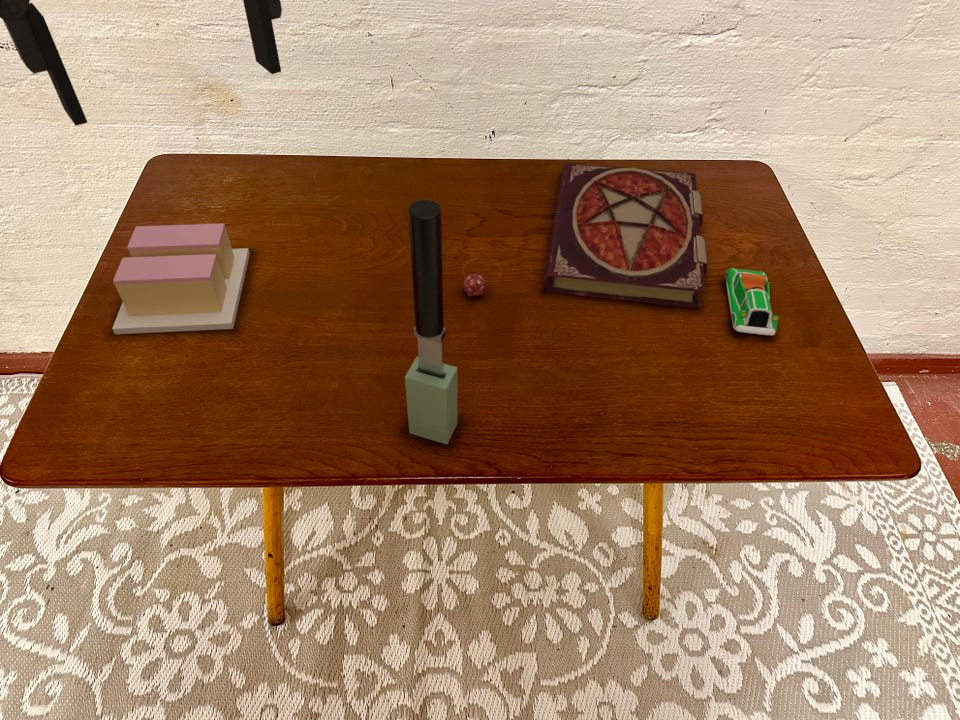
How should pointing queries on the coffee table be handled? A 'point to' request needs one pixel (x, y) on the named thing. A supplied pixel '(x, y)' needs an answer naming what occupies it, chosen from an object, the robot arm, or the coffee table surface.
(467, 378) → the coffee table surface
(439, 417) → the knife stand
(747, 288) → the toy car
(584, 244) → the book
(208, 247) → the cake
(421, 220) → the knife
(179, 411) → the coffee table surface
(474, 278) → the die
